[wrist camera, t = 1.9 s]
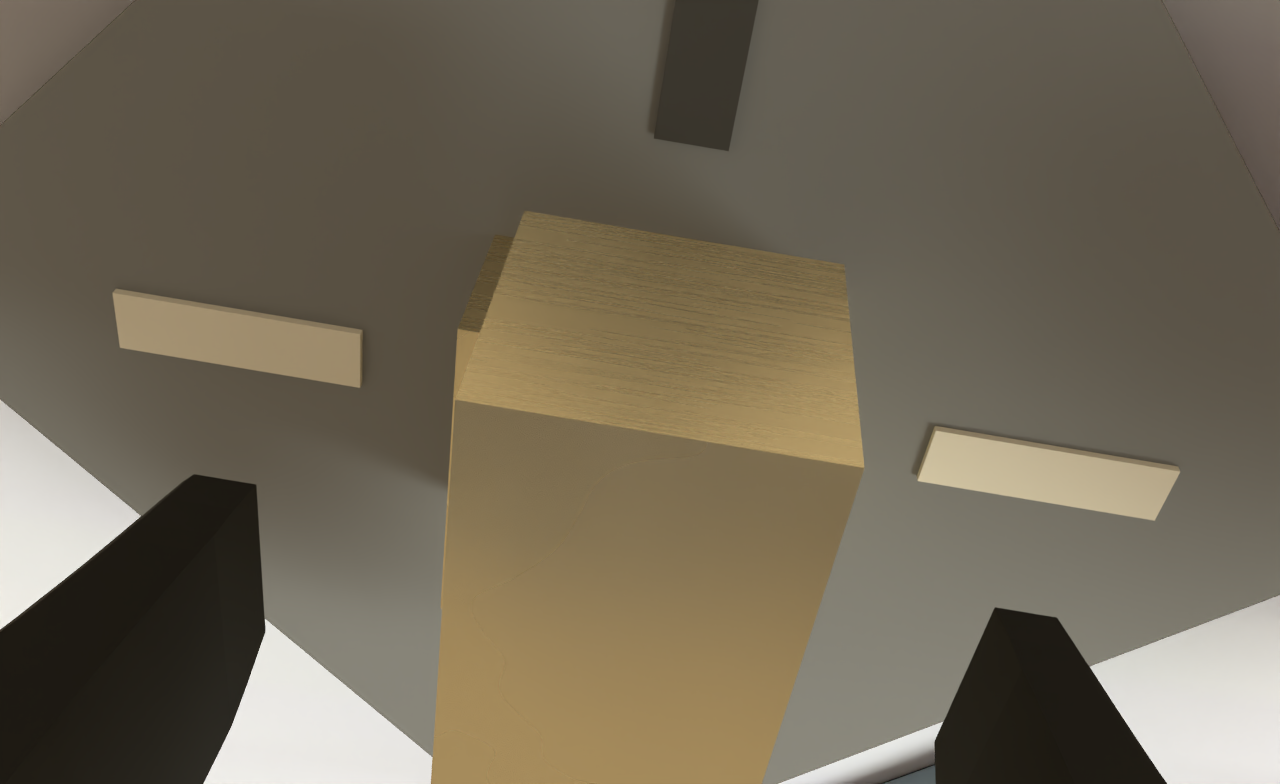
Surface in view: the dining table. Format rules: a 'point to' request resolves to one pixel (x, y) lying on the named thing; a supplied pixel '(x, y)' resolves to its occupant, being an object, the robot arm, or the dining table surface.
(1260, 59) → the dining table surface
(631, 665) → the t key
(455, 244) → the cover plate
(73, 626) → the robot arm
